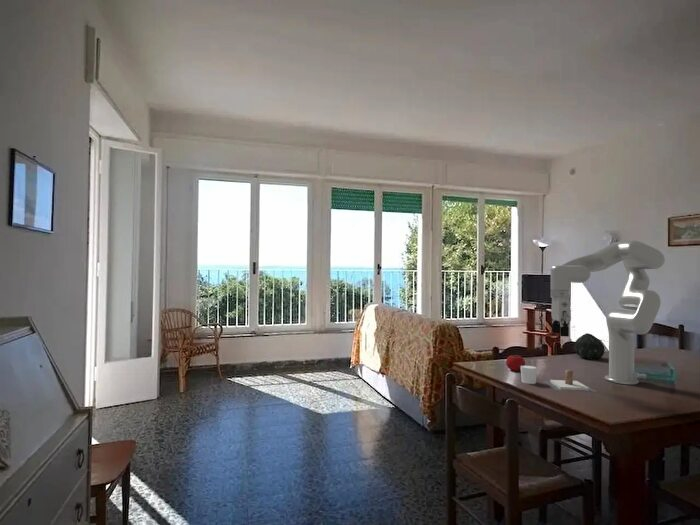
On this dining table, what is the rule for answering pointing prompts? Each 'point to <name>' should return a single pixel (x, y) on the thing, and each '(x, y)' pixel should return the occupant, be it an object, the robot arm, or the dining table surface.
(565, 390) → the mat
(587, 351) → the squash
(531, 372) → the white cylinder
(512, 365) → the tomato
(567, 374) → the lid
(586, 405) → the dining table surface
